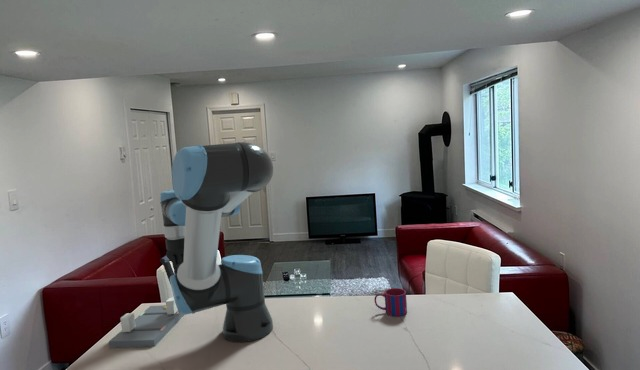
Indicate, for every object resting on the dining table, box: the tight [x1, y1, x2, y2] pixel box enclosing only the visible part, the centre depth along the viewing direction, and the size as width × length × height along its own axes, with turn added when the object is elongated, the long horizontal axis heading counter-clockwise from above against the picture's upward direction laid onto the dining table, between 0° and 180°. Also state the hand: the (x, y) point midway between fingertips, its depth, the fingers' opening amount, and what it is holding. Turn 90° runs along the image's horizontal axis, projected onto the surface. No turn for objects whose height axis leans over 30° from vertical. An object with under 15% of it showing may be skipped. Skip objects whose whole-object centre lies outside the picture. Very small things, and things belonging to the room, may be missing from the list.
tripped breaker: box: [165, 296, 178, 314], centre depth 143 cm, size 4×2×4 cm
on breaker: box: [120, 312, 136, 332], centre depth 131 cm, size 4×2×4 cm
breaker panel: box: [108, 304, 185, 349], centre depth 137 cm, size 26×14×2 cm, turn 175°
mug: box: [374, 287, 408, 318], centre depth 134 cm, size 7×10×7 cm
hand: (185, 304), depth 142 cm, fingers closed
